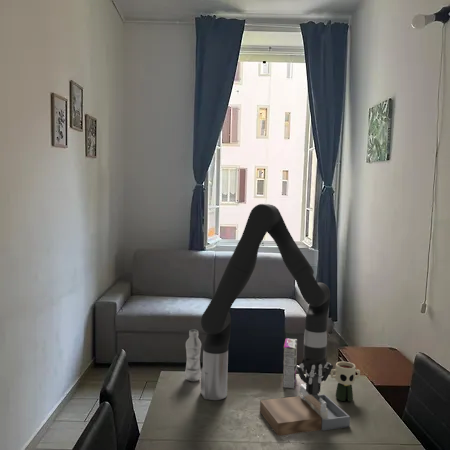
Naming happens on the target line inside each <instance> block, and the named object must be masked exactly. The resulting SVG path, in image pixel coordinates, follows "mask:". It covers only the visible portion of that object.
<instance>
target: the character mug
mask: <svg viewBox="0 0 450 450" xmlns="http://www.w3.org/2000/svg"><path fill="white" fill-rule="evenodd" d="M335 363H336V364H335V368H334V369H333V368H332V370H331V372H330V378H332V379H335V381H336V382H337V384H336V385H337V386H336V390H335V397H336V399H337V400H338V401H340V402H346V400H347V402H353V400H354V394H353V393H354V392H353V384H354V383H355V381H356V379H360V377H361V369H356V368H357V367H356V364H355V363H353V362H348V361H338V362H335ZM356 373H357V375H356ZM334 374H335V375H334Z"/></svg>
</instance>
